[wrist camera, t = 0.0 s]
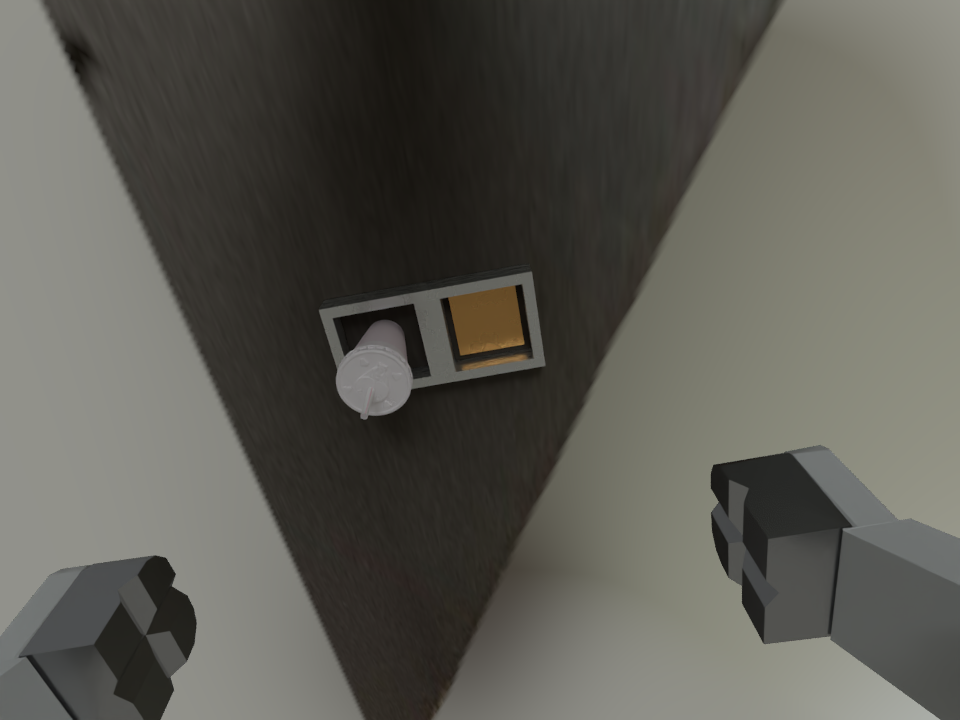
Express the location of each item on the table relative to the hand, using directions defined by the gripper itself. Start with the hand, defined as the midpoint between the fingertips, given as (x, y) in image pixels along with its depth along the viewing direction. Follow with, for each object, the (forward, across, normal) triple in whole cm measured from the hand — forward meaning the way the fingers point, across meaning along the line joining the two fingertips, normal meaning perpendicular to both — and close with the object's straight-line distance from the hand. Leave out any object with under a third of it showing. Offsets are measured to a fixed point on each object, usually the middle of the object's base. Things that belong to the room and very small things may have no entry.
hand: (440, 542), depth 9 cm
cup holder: (+48, +5, +16) cm, 51 cm away
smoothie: (+48, +10, +16) cm, 52 cm away
